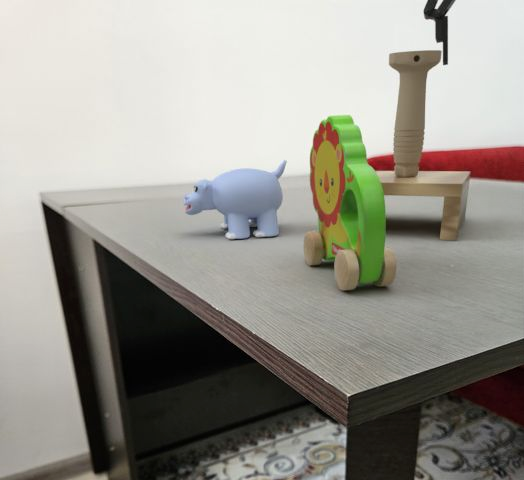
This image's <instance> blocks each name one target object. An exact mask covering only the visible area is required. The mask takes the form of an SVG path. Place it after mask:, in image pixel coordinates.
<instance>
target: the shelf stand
mask: <svg viewBox="0 0 524 480" xmlns="http://www.w3.org/2000/svg"><path fill="white" fill-rule="evenodd" d="M375 172H376V173H377V175H378V177H379V179H380V182H381V185H382V189H383V194H384V196H399V197H400V196H402V197H404V196H406V197H442V198H444V199H443V206H442V215H441V223H440V233H439V240H440V241H457V240H458V238H459V235H460V232H461V230H462V227H463V225H464V223H465V220H466V211H467V205H468V197H469V196H468V195H469V188H470V182H471V181H470V180H471V171H466V170H465V171H462V170H461V171H460V170H459V171H456V170H455V171H454V170H453V171H451V170H450V171H448V170H447V171H445V170H443V171H441V170H434V171H433V170H419V171H418V175H417V176H415V177H397V176H396V175H395V173H394V170H375Z"/></svg>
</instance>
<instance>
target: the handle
mask: <svg viewBox="0 0 524 480" xmlns="http://www.w3.org/2000/svg"><path fill="white" fill-rule="evenodd" d="M442 53H443V50H441V49H440V50H438V49H436V50H435V49H429V50H425V49H424V50H409V51H397V52H392V53H389V54H388V65H389V66H390V67H391V69H393V70H395V71H396V72H398V74H399V86H398V95H397V105H396V112H395V121H394V128H393V129H394V130H393V131H394V132H393V144H392V145H393V146H392V148H393V153H392V154H393V163H394V164H395V165H394V166H393V171H394V173H395V175H396V176H397V177H415V176H417V175H418V171H420V166H419V163H421V158H422V156H423V149H424V141H425V133H426V131H425V130H426V100H427V99H426V96H427V78H428V74H429V72H430V70H432V69H433V68H435V67H436V66H437V65H439V64H440V63H441V62H442V61H441V60H442Z"/></svg>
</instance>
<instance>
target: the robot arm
mask: <svg viewBox="0 0 524 480" xmlns="http://www.w3.org/2000/svg"><path fill="white" fill-rule="evenodd" d="M456 1H457V0H442V2H441V3H440V4H439V6H438V7H437V4H438V2H439V0H427V1H426V4H425V5H424V7H423V10H422V11H423V17H424V19H425V20H427V21H429V20H431V21H434V24H435V25H434V29H435V30H434V32H435V34H434V35H435V36H434V37H435V42H436V44H439V43H442V65H443V66H447V65H449V15H447V14H448V12H449V11H450V9H451V8H452V7H453V5H454V4H455V2H456ZM436 7H437V8H436Z"/></svg>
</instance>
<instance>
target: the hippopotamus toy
mask: <svg viewBox="0 0 524 480" xmlns="http://www.w3.org/2000/svg"><path fill="white" fill-rule="evenodd" d="M287 163H288V161H287V160H285V159H283V161H282V162H281V164H279V166H277V168H276V170H274V171H271V172H270V171H268V170H262V169H258V168H245V167H244V168H236V169H232V170H229V171H225V172H223V173H221V174H218V175H217V176H215V177H214V178H213V180H208V179H206V178H204V179H200V180H198V181H197V182H196V183H195V184H194V185H193V190H194V191H192V192H191V193H184V199H183V205H184V206H186V207H185V209H184V212H185V213H186V214H187V215H189V216H195V215H198V214H200V213H202V212H203V211H215V210H216V211H217V212H218V213H220V214H221V215H223V222H221V224H220V228H222V229H225V230H228V231H227V232H226V233H225V235H224V236H225V238H227V240H236V239H237V240H241V239H242V240H243V239H247V238H249V237H251V229H250V228H257V229H254V230H253V231H252V235H253V236H254V237H255V238H267V237H268V238H269V237H276V236H278V235H280V231H279V222H278V221H279V220H278V213H277V211H278V210H279V209H280V208H281V206H282V204H283V196H284V195H283V190H282V186H281V184H280V181H279V179H280V178H281V177H282V176H283V174H284V172H285V169H286V165H287Z"/></svg>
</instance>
